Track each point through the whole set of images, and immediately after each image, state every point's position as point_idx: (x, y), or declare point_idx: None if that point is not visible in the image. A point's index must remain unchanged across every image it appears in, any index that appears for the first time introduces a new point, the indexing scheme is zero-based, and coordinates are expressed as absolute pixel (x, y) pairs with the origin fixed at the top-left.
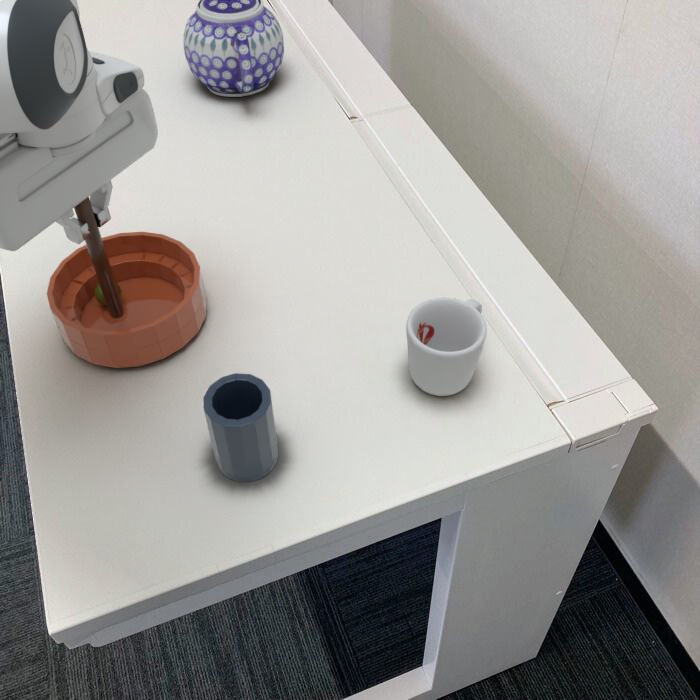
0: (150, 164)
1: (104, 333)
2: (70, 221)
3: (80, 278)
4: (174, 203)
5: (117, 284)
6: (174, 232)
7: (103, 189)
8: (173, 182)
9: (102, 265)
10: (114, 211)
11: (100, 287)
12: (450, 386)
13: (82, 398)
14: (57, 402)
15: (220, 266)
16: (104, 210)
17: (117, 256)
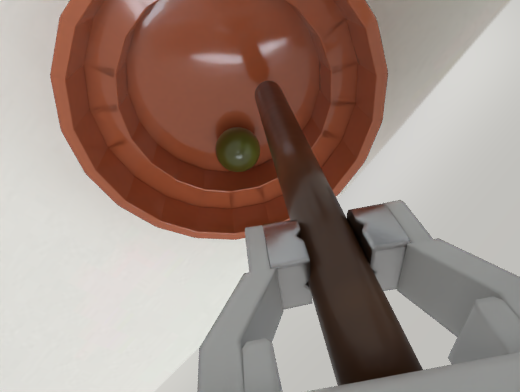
0: (23, 310)
1: (372, 23)
2: (492, 281)
3: (253, 197)
4: (26, 241)
5: (220, 149)
6: (59, 195)
7: (262, 359)
8: (6, 272)
9: (303, 142)
10: (117, 272)
11: (249, 160)
12: None
13: (406, 7)
14: (427, 35)
15: (18, 71)
16: (272, 262)
17: (180, 197)
